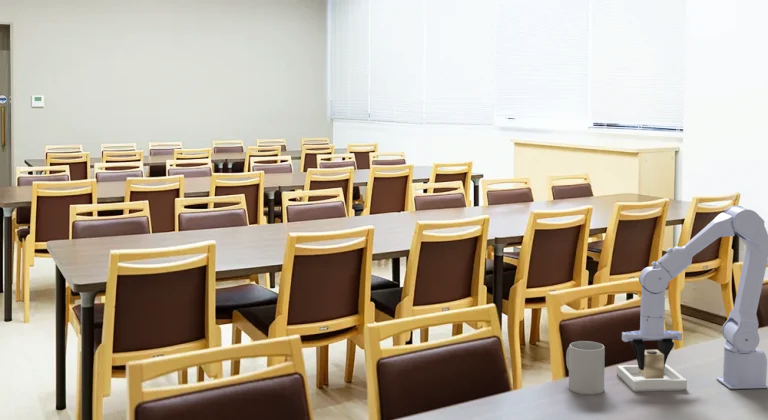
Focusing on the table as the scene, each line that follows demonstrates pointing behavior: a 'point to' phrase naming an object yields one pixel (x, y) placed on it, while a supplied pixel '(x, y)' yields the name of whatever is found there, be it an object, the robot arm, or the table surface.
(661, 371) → the bore block
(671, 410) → the table surface
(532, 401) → the table surface
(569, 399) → the table surface
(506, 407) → the table surface
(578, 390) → the mug
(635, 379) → the tray
